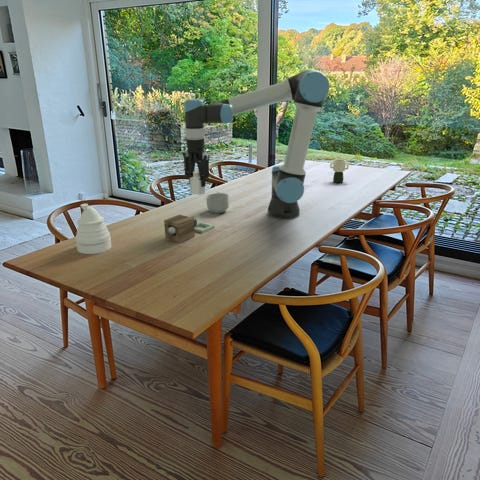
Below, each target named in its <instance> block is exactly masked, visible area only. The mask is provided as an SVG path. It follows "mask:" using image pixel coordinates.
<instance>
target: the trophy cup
mask: <svg viewBox="0 0 480 480" xmlns="http://www.w3.org/2000/svg"><path fill="white" fill-rule="evenodd" d="M329 164H330V165H329V167H330V169H332V170H333V178H332V181H333V182H335V183H341V182H344V172H345V171H346V170H349V166H350V165H349V164H348V163H346V159H341V158H337V159H333V162H330V163H329Z"/></svg>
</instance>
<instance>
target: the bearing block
mask: <svg viewBox="0 0 480 480" xmlns="http://www.w3.org/2000/svg"><path fill="white" fill-rule="evenodd" d="M192 217H193V216H187V215H183V214H177V215H175V216H172V217H169V218H167V219H164V220H163V223H164V225H163V226H164V237H165V240H166V241H171V242H174V243H177V244H182V243H184V242H186V241H188V240H190V239H193V238H194V237H196V236H195V235H196V234H195V233H196V231H194V218H195V217H194V218H192ZM172 226H175V229H176V233H175V234H172V235H170V234H169V233H168V228H170V227H172Z"/></svg>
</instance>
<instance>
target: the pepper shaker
mask: <svg viewBox="0 0 480 480" xmlns="http://www.w3.org/2000/svg"><path fill="white" fill-rule="evenodd" d="M199 179H200V175H199V171H198V170H194V172H193V179H192V180H191V185H192V193H191V194H192V195H198V196H200V195H199Z"/></svg>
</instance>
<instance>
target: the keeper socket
mask: <svg viewBox="0 0 480 480" xmlns="http://www.w3.org/2000/svg"><path fill="white" fill-rule="evenodd" d="M198 227H204V228H198ZM213 229H215V225H214V224H210V223H206V222H201V221H198V222H197V226H196V227H195V228H194V231H195V233H201V234H204V233H206V232H209V231H211V230H213Z"/></svg>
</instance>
